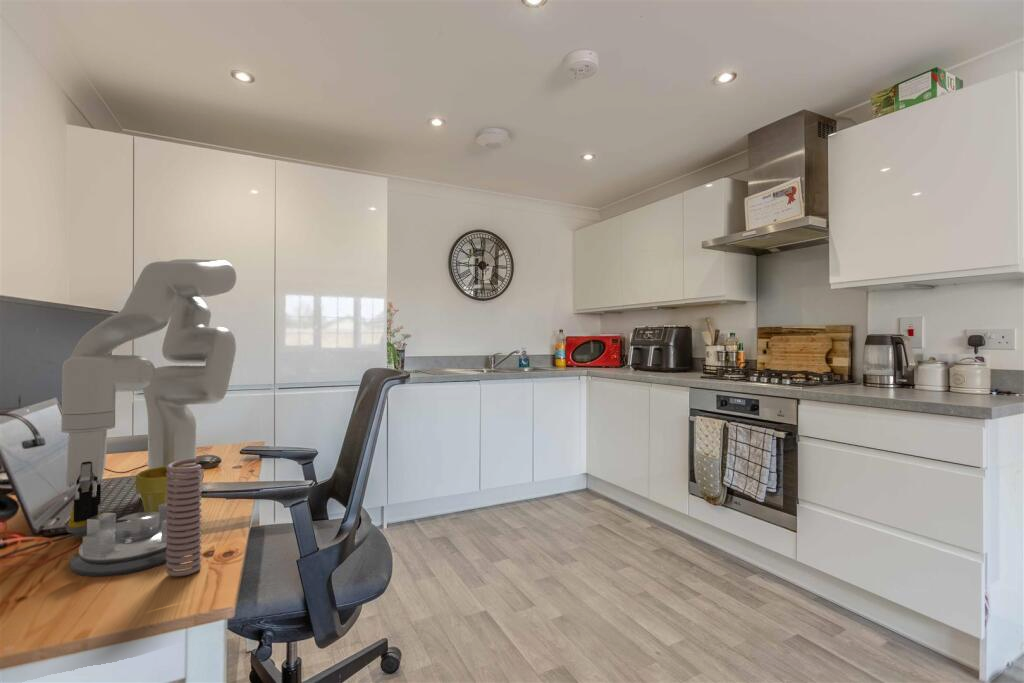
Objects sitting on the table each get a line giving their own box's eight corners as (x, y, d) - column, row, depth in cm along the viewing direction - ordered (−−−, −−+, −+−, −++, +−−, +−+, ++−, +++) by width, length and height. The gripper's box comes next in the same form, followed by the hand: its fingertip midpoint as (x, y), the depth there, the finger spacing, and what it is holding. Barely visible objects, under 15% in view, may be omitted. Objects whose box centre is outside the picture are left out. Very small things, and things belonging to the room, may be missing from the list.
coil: (187, 580, 72) (187, 464, 72) (158, 580, 72) (158, 464, 72) (208, 565, 76) (208, 457, 76) (180, 565, 76) (180, 457, 76)
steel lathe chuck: (82, 540, 82) (82, 515, 82) (186, 519, 92) (186, 497, 92) (74, 572, 70) (74, 544, 70) (195, 544, 80) (195, 519, 80)
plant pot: (201, 516, 98) (201, 470, 98) (138, 530, 91) (138, 480, 91) (191, 504, 105) (191, 461, 105) (133, 516, 98) (132, 470, 98)
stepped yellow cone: (115, 529, 90) (104, 482, 88) (88, 547, 84) (76, 497, 82) (90, 528, 90) (79, 482, 88) (61, 546, 85) (49, 497, 83)
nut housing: (75, 550, 82) (75, 540, 82) (192, 525, 93) (192, 517, 93) (64, 589, 69) (64, 578, 69) (202, 555, 80) (202, 545, 80)
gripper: (66, 418, 91) (65, 505, 91) (55, 430, 78) (54, 531, 78) (116, 415, 96) (115, 497, 96) (114, 425, 83) (112, 521, 83)
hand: (87, 512), depth 87 cm, fingers open, 9 cm apart
